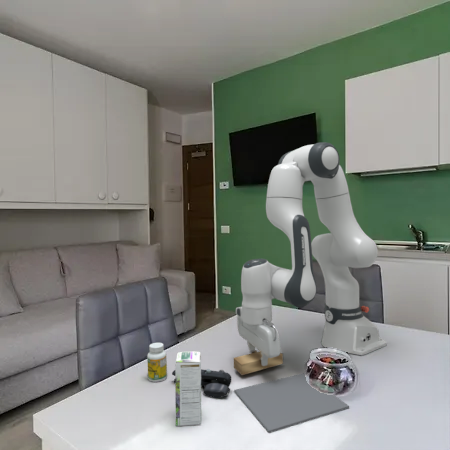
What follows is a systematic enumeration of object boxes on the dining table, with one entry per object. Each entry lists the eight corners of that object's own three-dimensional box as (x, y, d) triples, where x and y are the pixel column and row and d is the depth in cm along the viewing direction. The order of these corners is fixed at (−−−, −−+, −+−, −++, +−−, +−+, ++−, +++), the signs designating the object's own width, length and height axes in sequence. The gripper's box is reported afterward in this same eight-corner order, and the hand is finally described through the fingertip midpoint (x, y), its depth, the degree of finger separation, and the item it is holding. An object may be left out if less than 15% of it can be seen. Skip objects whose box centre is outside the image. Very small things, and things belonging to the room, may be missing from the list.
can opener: (236, 389, 89) (236, 368, 89) (225, 402, 83) (225, 380, 83) (180, 376, 97) (179, 357, 97) (166, 388, 91) (165, 367, 90)
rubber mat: (303, 374, 96) (303, 373, 96) (349, 408, 79) (349, 406, 79) (234, 391, 87) (234, 389, 87) (268, 433, 71) (268, 430, 71)
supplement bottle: (170, 376, 96) (170, 343, 96) (157, 384, 92) (156, 350, 92) (157, 371, 99) (156, 340, 99) (143, 379, 95) (143, 346, 95)
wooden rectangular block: (273, 357, 104) (273, 347, 104) (282, 363, 100) (282, 353, 100) (233, 367, 98) (233, 357, 98) (242, 375, 94) (241, 364, 94)
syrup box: (177, 411, 79) (175, 351, 79) (201, 410, 80) (200, 350, 79) (175, 427, 73) (174, 362, 73) (202, 425, 74) (201, 360, 73)
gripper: (285, 323, 90) (286, 373, 91) (250, 304, 109) (252, 345, 110) (265, 327, 88) (266, 378, 88) (233, 307, 106) (234, 349, 107)
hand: (258, 360), depth 99 cm, fingers closed on wooden rectangular block, 5 cm apart
